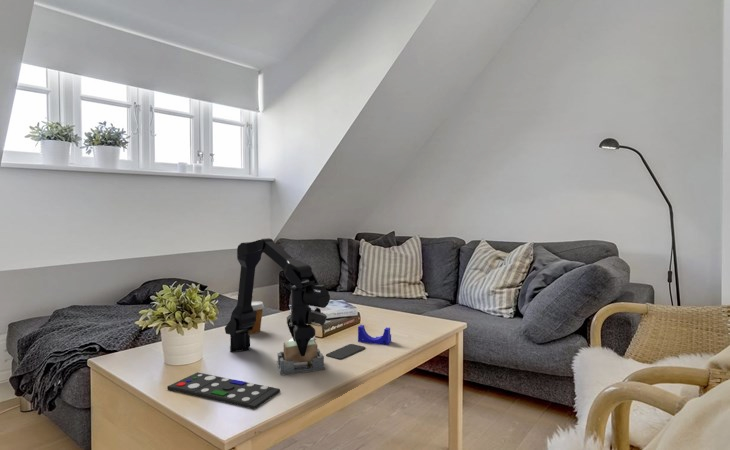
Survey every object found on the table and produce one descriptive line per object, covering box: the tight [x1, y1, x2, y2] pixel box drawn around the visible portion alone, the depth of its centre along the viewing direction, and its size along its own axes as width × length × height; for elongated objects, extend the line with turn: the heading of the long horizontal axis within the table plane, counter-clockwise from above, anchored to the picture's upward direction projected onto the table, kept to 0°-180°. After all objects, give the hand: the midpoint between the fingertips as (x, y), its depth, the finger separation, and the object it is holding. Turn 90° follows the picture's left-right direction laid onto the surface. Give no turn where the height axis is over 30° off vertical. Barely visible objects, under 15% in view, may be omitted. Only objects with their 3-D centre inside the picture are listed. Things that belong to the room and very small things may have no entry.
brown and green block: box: [283, 339, 318, 363], centre depth 136 cm, size 10×6×5 cm, turn 108°
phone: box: [325, 343, 366, 360], centre depth 151 cm, size 7×1×15 cm
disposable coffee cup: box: [248, 300, 265, 335], centre depth 176 cm, size 10×10×12 cm
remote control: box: [167, 372, 281, 410], centre depth 118 cm, size 11×30×2 cm, turn 67°
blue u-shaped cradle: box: [357, 324, 392, 346], centre depth 162 cm, size 12×4×6 cm, turn 71°
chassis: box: [276, 348, 326, 376], centre depth 136 cm, size 14×10×4 cm
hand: (300, 351), depth 136 cm, fingers open, 9 cm apart
